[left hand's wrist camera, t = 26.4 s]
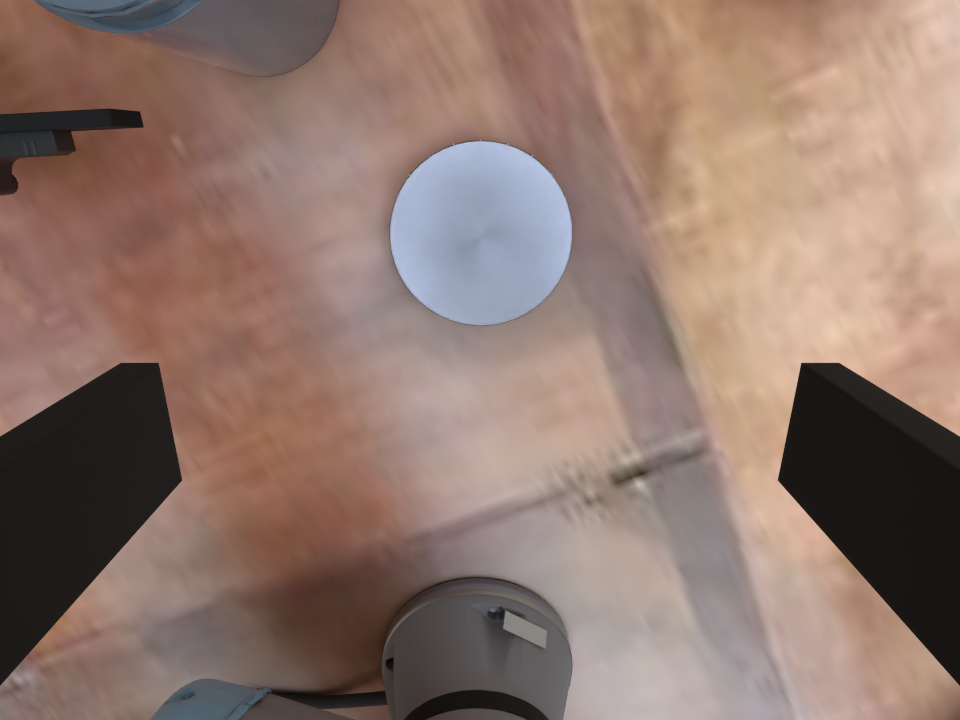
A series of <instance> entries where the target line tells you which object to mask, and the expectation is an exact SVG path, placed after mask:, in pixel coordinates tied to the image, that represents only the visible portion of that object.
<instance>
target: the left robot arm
mask: <svg viewBox="0 0 960 720" xmlns="http://www.w3.org/2000/svg"><path fill="white" fill-rule="evenodd" d="M181 481H182V478H181V473H180V468H179V463H178V458H177V453H176V448H175V443H174V438H173V433H172V428H171V423H170V418H169V413H168V408H167V403H166V398H165V393H164V388H163V383H162V378H161V373H160V368H159V363H120V364H119V365H117V366H115V367H114V368H112V369H110V370H109V371H107V372H105V373H104V374H102V375H101V376H99V377H97V378H96V379H94V380H92V381H91V382H89V383H87V384H86V385H84V386H82V387H81V388H79V389H78V390H76V391H74V392H73V393H71V394H69V395H68V396H66V397H64V398H63V399H61V400H60V401H58V402H56V403H55V404H53V405H51V406H50V407H48V408H46V409H45V410H43V411H42V412H40V413H38V414H37V415H35V416H33V417H32V418H30V419H28V420H27V421H25V422H23V423H22V424H20V425H19V426H17V427H15V428H14V429H12V430H10V431H9V432H7V433H5V434H4V435H2V436H1V437H0V685H1V684H2V683H3V682H4V681H5V680H6V678H7V677H8V676H9V675H10V674H11V673H12V672H13V671H14V669H15V668H16V667H17V666H18V665H19V664H20V663H21V662H22V660H23V659H24V658H25V657H26V656H27V655H28V654H29V652H30V651H31V650H32V649H33V648H34V647H35V646H36V645H37V643H38V642H39V641H40V640H41V639H42V638H43V637H44V636H45V634H46V633H47V632H48V631H49V630H50V629H51V628H52V627H53V625H54V624H55V623H56V622H57V621H58V620H59V619H60V618H61V616H62V615H63V614H64V613H65V612H66V611H67V610H68V608H69V607H70V606H71V605H72V604H73V603H74V602H75V601H76V599H77V598H78V597H79V596H80V595H81V594H82V593H83V592H84V590H85V589H86V588H87V587H88V586H89V585H90V584H91V583H92V581H93V580H94V579H95V578H96V577H97V576H98V575H99V573H100V572H101V571H102V570H103V569H104V568H105V567H106V566H107V564H108V563H109V562H110V561H111V560H112V559H113V558H114V557H115V555H116V554H117V553H118V552H119V551H120V550H121V549H122V548H123V546H124V545H125V544H126V543H127V542H128V541H129V540H130V538H131V537H132V536H133V535H134V534H135V533H136V532H137V531H138V529H139V528H140V527H141V526H142V525H143V524H144V523H145V522H146V520H147V519H148V518H149V517H150V516H151V515H152V514H153V513H154V511H155V510H156V509H157V508H158V507H159V506H160V505H161V504H162V502H163V501H164V500H165V499H166V498H167V497H168V496H169V494H170V493H171V492H172V491H173V490H174V489H175V488H176V487H177V485H178V484H179V483H180V482H181ZM778 481H779V482H780V483H781V484H782V485H783V487H784V488H785V489H786V490H787V491H788V492H789V493H790V494H791V496H792V497H793V498H794V499H795V500H796V501H797V502H798V504H799V505H800V506H801V507H802V508H803V509H804V510H805V511H806V513H807V514H808V515H809V516H810V517H811V518H812V519H813V520H814V522H815V523H816V524H817V525H818V526H819V527H820V528H821V529H822V531H823V532H824V533H825V534H826V535H827V536H828V537H829V538H830V540H831V541H832V542H833V543H834V544H835V545H836V546H837V548H838V549H839V550H840V551H841V552H842V553H843V554H844V555H845V557H846V558H847V559H848V560H849V561H850V562H851V563H852V564H853V566H854V567H855V568H856V569H857V570H858V571H859V572H860V573H861V575H862V576H863V577H864V578H865V579H866V580H867V581H868V583H869V584H870V585H871V586H872V587H873V588H874V589H875V590H876V592H877V593H878V594H879V595H880V596H881V597H882V598H883V599H884V601H885V602H886V603H887V604H888V605H889V606H890V607H891V608H892V610H893V611H894V612H895V613H896V614H897V615H898V616H899V618H900V619H901V620H902V621H903V622H904V623H905V624H906V625H907V627H908V628H909V629H910V630H911V631H912V632H913V633H914V634H915V636H916V637H917V638H918V639H919V640H920V641H921V642H922V643H923V645H924V646H925V647H926V648H927V649H928V650H929V651H930V652H931V654H932V655H933V656H934V657H935V658H936V659H937V660H938V662H939V663H940V664H941V665H942V666H943V667H944V668H945V669H946V671H947V672H948V673H949V674H950V675H951V676H952V677H953V678H954V680H955V681H956V682H957V683H958V684H959V685H960V437H959V436H958V435H956V434H955V433H953V432H951V431H950V430H948V429H946V428H945V427H943V426H941V425H940V424H938V423H937V422H935V421H933V420H932V419H930V418H928V417H927V416H925V415H923V414H922V413H920V412H918V411H917V410H915V409H914V408H912V407H910V406H909V405H907V404H905V403H904V402H902V401H900V400H899V399H897V398H896V397H894V396H892V395H891V394H889V393H887V392H886V391H884V390H882V389H881V388H879V387H878V386H876V385H874V384H873V383H871V382H869V381H868V380H866V379H864V378H863V377H861V376H859V375H858V374H856V373H855V372H853V371H851V370H850V369H848V368H846V367H845V366H843V365H841V364H840V363H801V368H800V373H799V378H798V383H797V388H796V393H795V398H794V403H793V408H792V413H791V418H790V423H789V428H788V433H787V438H786V443H785V448H784V453H783V458H782V463H781V468H780V473H779V478H778ZM382 675H383V681H384V687H385V691H379V692H369V693H357V694H345V695H322V696H320V695H297V694H281V693H271V690H270V689H268V688H265V687H264V688H261V689H259V690H257V689H253V688H248V687H244V686H240V685H236V684H232V683H228V682H224V681H220V680H216V679H200V680H196V681H193V682H191V683H189V684H187V685H185V686H184V687H182V688H180V689H179V690H178V691H177V692H175V693H174V694H173V695H172V696H171V697H170V698H169V699H168V700H167V701H166V702H165V703H164V704H163V705H162V706H161V707H160V709H159V710H158V711H157V712H156V713H155V714H154V716H153V717H152V718H151V719H150V720H354V719H350V718H347V717H344V716H341V715H338V714H334V713H331V712H328V711H325V710H322V709H334V708H351V707H364V706H377V705H388V708H389V713H390V719H391V720H563V716H564V711H565V706H566V700H567V694H568V689H569V686H570V682H571V675H572V656H571V651H570V645H569V640H568V635H567V632H566V629H565V627H564V625H563V623H562V621H561V619H560V618H559V616H558V614H557V613H556V612H555V611H554V610H553V608H552V607H551V606H550V605H549V604H548V603H546V602H545V601H544V600H543V599H541V598H540V597H539V596H537V595H536V594H534V593H532V592H530V591H529V590H527V589H525V588H522V587H520V586H517V585H515V584H511V583H508V582H504V581H500V580H493V579H483V578H470V579H460V580H454V581H450V582H446V583H442V584H439V585H437V586H434V587H432V588H429V589H427V590H425V591H423V592H422V593H420V594H418V595H417V596H415V597H414V598H413V599H411V600H410V601H409V602H408V603H406V604H405V605H404V606H403V607H402V609H401V610H400V611H399V612H398V613H397V615H396V616H395V617H394V619H393V621H392V623H391V625H390V627H389V629H388V632H387V636H386V640H385V645H384V651H383V656H382Z"/></svg>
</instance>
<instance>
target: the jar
mask: <svg viewBox="0 0 960 720" xmlns="http://www.w3.org/2000/svg"><path fill="white" fill-rule="evenodd" d="M34 1H35V2H37V3H38V4H39V5H41V6H42V7H44V8H45V9H47V10H48V11H50V12H52V13H54V14H56V15H58V16H59V17H61V18H63V19H65V20H67V21H70V22H72V23H75V24H77V25H80V26H82V27H86V28H89V29H92V30H96V31H99V32H102V33H106V34H109V35H113V36H116V37H119V38H123V39H126V40H130V41H133V42H136V43H140V44H143V45H146V46H150V47H153V48H157V49H160V50H163V51H167V52H170V53H174V54H177V55H180V56H184V57H187V58H190V59H194V60H197V61H201V62H204V63H207V64H211V65H214V66H218V67H221V68H224V69H228V70H231V71H234V72H238V73H242V74H246V75H250V76H259V77H262V76H275V75H280V74H284V73H287V72H290V71H292V70H294V69H296V68H298V67H300V66H302V65H303V64H304V63H306V62H307V61H308V60H310V59H311V58H312V57H313V56H314V55H315V54H316V53H317V52H318V51H319V49H320V48H321V47H322V45H323V44H324V43H325V41H326V39H327V37H328V36H329V34H330V32H331V29H332V27H333V24H334V22H335V18H336V15H337V11H338V5H339V0H34Z"/></svg>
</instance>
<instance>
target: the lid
mask: <svg viewBox="0 0 960 720" xmlns="http://www.w3.org/2000/svg"><path fill="white" fill-rule="evenodd" d="M508 144H509V143H506V144H503V143H498V142H493V141H481V139H480V141H469V142H464V143H459V144H455V143H453V145H452V146H450V147H447V148H444V149H442V150H440V151H439V152H437V153H435V154H433V155H429V156H428V157H429V158H427V159H426V160H425V161H423V162H422V163H421V164H420V165H419V166H418V167H417V168H416V169H415V170H414V171H413V172H412V173H411V174H409V177H408V178H407V180H406V181H405V183H404V185H403V186H402V188H401V190H400V191H399V194H398V196H397V197H396V201H395V203H394V207H393V211H392V214H391V222H390V245H391V252H392V256H393V259H394V263H395V265H396V268H397V270H398V273H399V275H400V277H401V278H402V280H403V282H404V284H405V285H406V287H407V288H408V289H409V291H410V292H411V293H412V294H413V295H414V296H415V297H416V298H417V300H418V301H419V302H421V303H422V304H423V305H424V306H426V307H427V308H428V309H430V310H431V311H433V312H434V313H436V314H438V315H440V316H442V317H444V318H446V319H448V320H451V321H454V322H458V323H462V324H467V325H479V326H484V325H495V324H500V323H505V322H508V321H511V320H514V319H516V318H518V317H520V316H522V315H524V314H526V313H528V312H529V311H531V310H532V309H534V308H535V307H537V306H538V305H539V304H540V303H541V302H543V301H544V300H545V299H546V297H547V296H548V295H549V294H550V293H551V292H552V291H553V289H554V288H555V286H556V285H557V284H558V282H559V280H560V279H561V277H562V275H563V273H564V271H565V268H566V266H567V263H568V260H569V256H570V252H571V245H572V221H571V214H570V210H569V207H568V203H567V200H566V196H564V193H563V191H562V189H561V188H560V186H559V184H558V183H557V181H556V179H555V178H554V177H553V176H552V175H553V174H552V173H550V172H549V171H548V170H547V169H546V168H545V167H544V166H543V165H542V164H541V163H540V162H539V161H538V160H536V159H535V158H533V155H531V154H530V155H529V154H527V153H526V152H524V151H522V150H520V149H518V148H515V147H513V146H510V145H508Z"/></svg>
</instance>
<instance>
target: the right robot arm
mask: <svg viewBox="0 0 960 720" xmlns="http://www.w3.org/2000/svg"><path fill="white" fill-rule="evenodd" d="M142 127H143V123H142V118H141V114H140V112H138V111H128V110H117V109H94V110H75V111H56V112H37V113H18V114H0V195H8V194H14V193H15V192H16V191H17V189H18V182H17V180H16V178H15V177H14V175H13V174H12V165H13V163H14V162H15V161H16V160H17V159H19V158H24V157H42V156H61V155H69V154H71V153H72V152H74V151H76V149H75V145H74V141H73V138H72V134H71V131H84V130H103V129H123V128H142Z"/></svg>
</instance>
